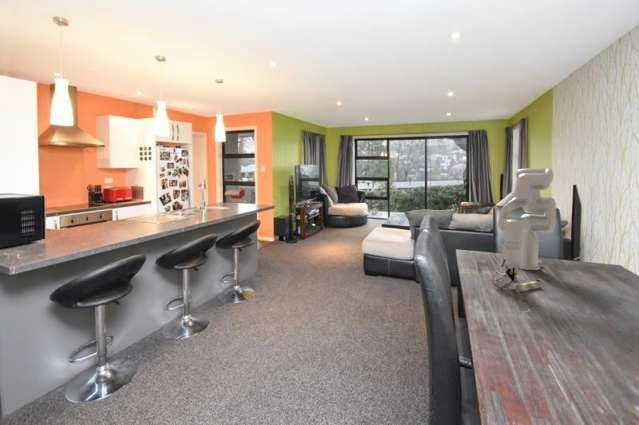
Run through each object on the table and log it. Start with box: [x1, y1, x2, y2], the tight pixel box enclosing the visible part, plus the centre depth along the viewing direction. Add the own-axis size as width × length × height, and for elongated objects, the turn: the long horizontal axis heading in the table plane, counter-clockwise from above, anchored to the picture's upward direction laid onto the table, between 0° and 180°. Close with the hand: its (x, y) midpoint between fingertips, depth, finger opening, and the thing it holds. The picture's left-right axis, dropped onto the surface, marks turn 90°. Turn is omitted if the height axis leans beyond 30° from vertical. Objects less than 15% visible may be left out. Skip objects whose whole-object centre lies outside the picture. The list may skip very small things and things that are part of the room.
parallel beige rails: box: [492, 272, 542, 293], centre depth 171 cm, size 16×14×4 cm
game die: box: [491, 271, 515, 290], centre depth 166 cm, size 9×8×10 cm
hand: (510, 281), depth 169 cm, fingers closed
